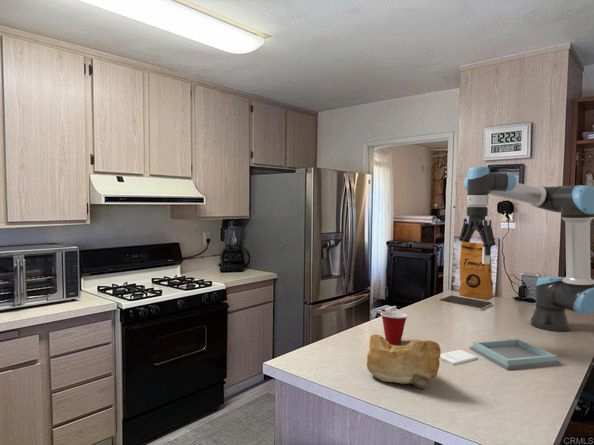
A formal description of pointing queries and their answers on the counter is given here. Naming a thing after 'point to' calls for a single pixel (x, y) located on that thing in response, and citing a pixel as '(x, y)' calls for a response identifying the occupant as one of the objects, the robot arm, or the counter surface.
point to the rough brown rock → (403, 361)
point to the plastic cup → (393, 326)
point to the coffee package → (474, 272)
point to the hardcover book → (466, 302)
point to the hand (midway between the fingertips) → (475, 261)
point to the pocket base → (514, 354)
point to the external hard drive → (457, 357)
